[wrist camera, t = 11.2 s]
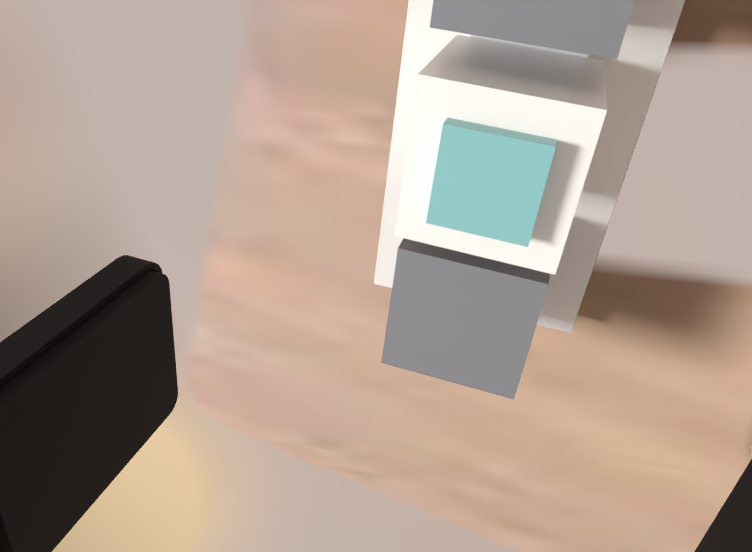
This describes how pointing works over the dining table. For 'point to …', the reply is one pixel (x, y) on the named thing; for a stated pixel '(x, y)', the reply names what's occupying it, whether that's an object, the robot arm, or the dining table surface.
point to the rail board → (595, 206)
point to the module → (500, 150)
